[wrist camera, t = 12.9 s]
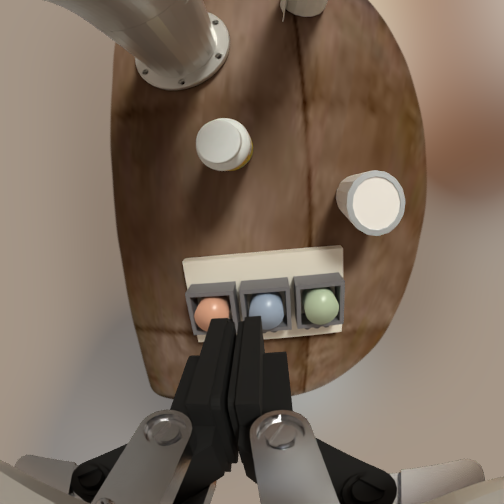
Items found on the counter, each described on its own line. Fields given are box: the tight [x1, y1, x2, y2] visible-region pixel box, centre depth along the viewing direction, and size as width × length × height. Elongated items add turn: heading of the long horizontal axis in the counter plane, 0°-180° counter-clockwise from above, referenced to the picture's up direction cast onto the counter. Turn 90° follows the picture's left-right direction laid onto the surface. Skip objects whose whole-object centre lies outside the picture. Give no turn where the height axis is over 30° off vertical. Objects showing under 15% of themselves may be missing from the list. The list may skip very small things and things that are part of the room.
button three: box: [302, 287, 339, 325], centre depth 33 cm, size 4×4×4 cm
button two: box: [249, 292, 284, 330], centre depth 34 cm, size 4×4×4 cm
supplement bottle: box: [196, 118, 253, 171], centre depth 28 cm, size 5×5×10 cm
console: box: [182, 245, 345, 342], centre depth 35 cm, size 12×20×4 cm, turn 96°
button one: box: [194, 295, 231, 331], centre depth 34 cm, size 4×4×4 cm
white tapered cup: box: [336, 170, 405, 236], centre depth 30 cm, size 7×7×7 cm
